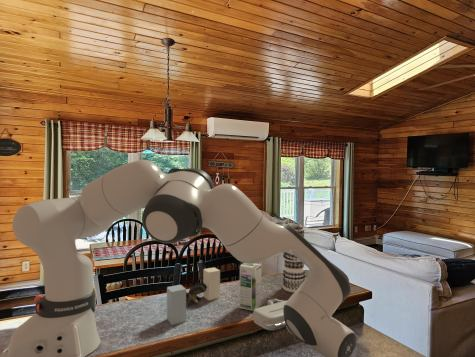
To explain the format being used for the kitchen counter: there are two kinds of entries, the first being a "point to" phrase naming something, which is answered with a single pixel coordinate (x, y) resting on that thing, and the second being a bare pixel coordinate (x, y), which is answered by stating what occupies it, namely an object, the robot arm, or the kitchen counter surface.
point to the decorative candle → (293, 266)
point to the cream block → (211, 283)
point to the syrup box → (250, 286)
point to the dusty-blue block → (176, 304)
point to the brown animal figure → (195, 292)
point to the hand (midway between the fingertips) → (271, 301)
